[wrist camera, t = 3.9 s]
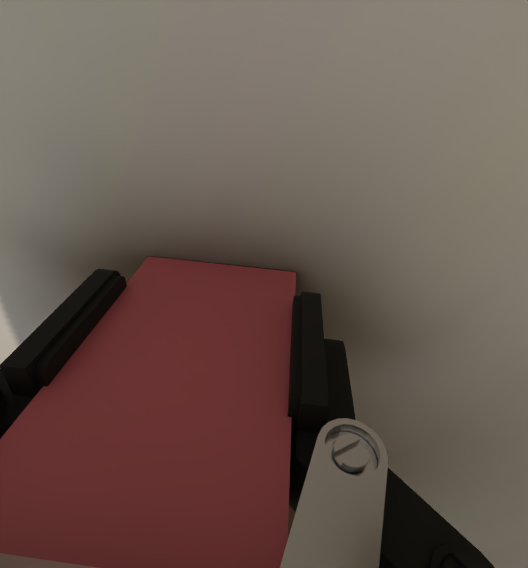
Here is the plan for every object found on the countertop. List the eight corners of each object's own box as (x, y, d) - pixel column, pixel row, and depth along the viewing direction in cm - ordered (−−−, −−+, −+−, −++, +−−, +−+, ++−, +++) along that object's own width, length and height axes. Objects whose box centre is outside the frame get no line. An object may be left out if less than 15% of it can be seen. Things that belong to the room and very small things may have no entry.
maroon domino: (148, 256, 12) (-134, 604, 4) (295, 272, 12) (283, 669, 4) (154, 304, 13) (-62, 651, 5) (289, 319, 13) (269, 704, 5)
